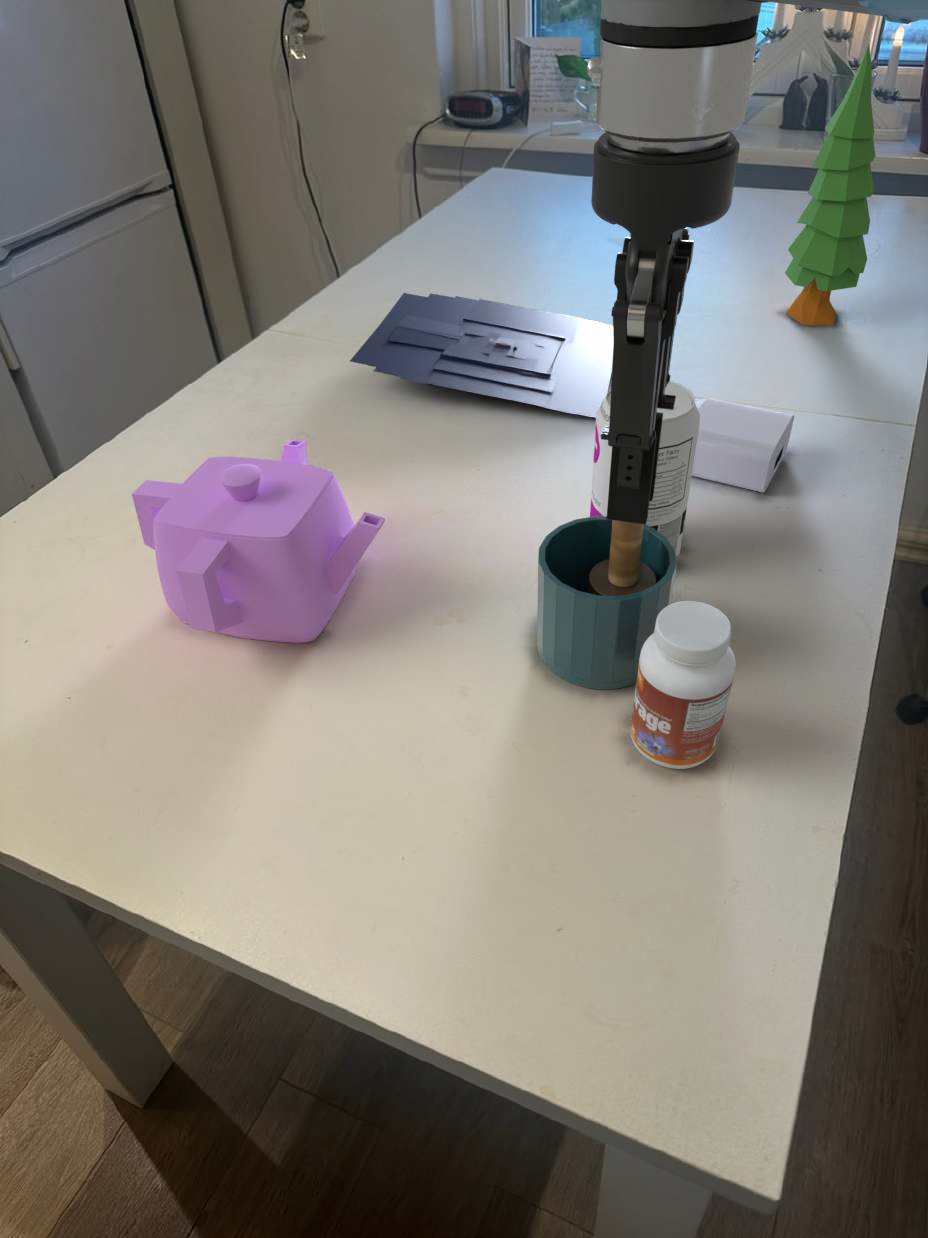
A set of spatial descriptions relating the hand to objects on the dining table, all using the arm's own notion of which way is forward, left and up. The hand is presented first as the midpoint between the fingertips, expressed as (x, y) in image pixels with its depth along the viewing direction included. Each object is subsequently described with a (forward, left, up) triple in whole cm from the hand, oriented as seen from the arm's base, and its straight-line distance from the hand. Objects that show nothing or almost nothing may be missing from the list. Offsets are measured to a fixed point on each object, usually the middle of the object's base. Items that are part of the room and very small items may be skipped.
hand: (630, 506), depth 61 cm
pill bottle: (-10, 0, -13) cm, 17 cm away
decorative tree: (+51, -46, -13) cm, 70 cm away
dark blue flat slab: (+51, -3, -14) cm, 53 cm away
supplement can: (+11, -6, -13) cm, 18 cm away
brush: (0, 0, -11) cm, 11 cm away
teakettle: (+14, +26, -13) cm, 33 cm away
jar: (0, +1, -13) cm, 13 cm away
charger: (+24, -18, -13) cm, 33 cm away
